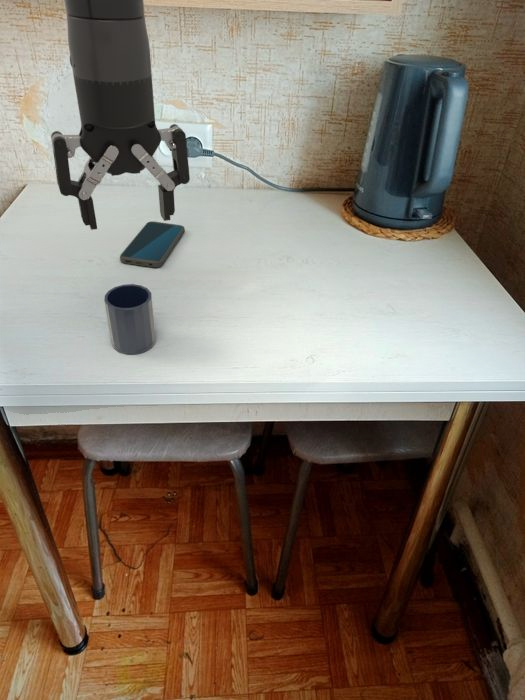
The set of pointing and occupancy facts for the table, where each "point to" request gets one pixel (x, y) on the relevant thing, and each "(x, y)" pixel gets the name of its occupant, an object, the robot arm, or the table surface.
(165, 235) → the smartphone
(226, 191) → the table surface
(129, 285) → the pot
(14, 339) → the table surface
